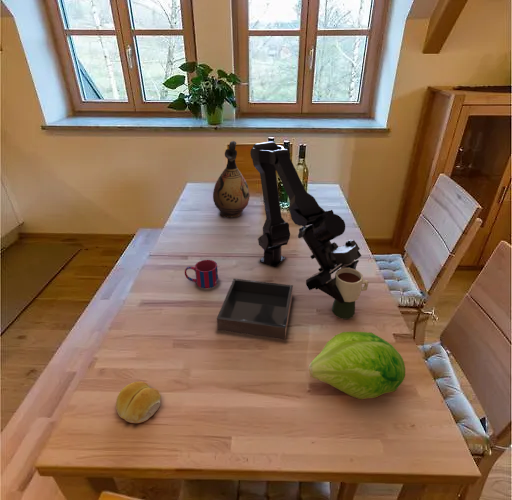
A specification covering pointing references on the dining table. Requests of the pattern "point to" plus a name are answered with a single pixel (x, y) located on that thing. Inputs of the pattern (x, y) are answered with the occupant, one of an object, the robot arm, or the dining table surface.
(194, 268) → the cup
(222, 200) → the ceramic jug
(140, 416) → the bread roll
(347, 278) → the coffee mug
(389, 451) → the dining table surface
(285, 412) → the dining table surface
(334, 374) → the lettuce
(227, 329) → the tray
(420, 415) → the dining table surface
